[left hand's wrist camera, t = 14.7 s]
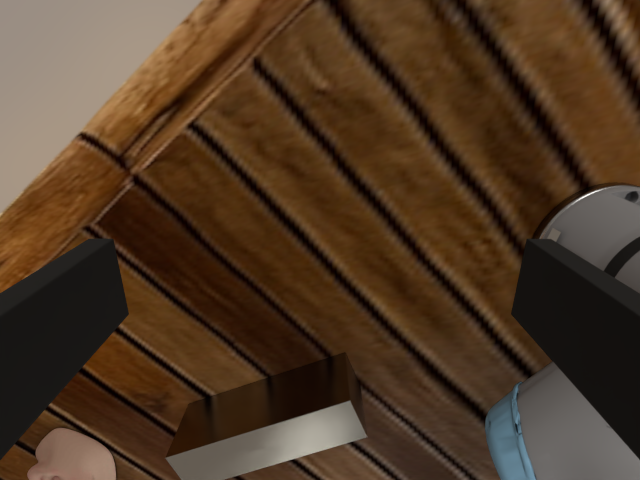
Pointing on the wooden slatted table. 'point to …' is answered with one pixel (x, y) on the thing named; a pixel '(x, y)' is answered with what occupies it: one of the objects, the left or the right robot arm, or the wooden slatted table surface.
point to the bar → (270, 422)
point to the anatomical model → (72, 458)
